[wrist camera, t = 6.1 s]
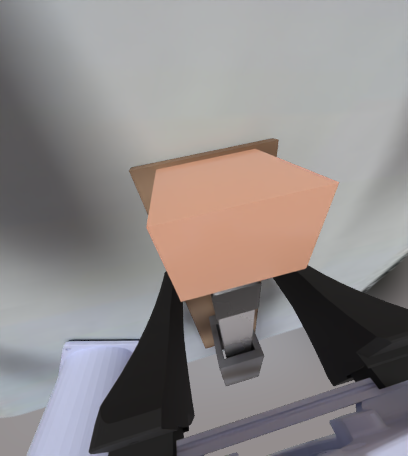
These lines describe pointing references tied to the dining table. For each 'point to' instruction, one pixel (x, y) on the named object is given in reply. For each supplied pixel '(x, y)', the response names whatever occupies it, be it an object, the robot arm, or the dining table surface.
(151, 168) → the brown wooden bar
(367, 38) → the dining table surface
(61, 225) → the dining table surface
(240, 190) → the peach-orange block
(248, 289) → the grey banded bar
